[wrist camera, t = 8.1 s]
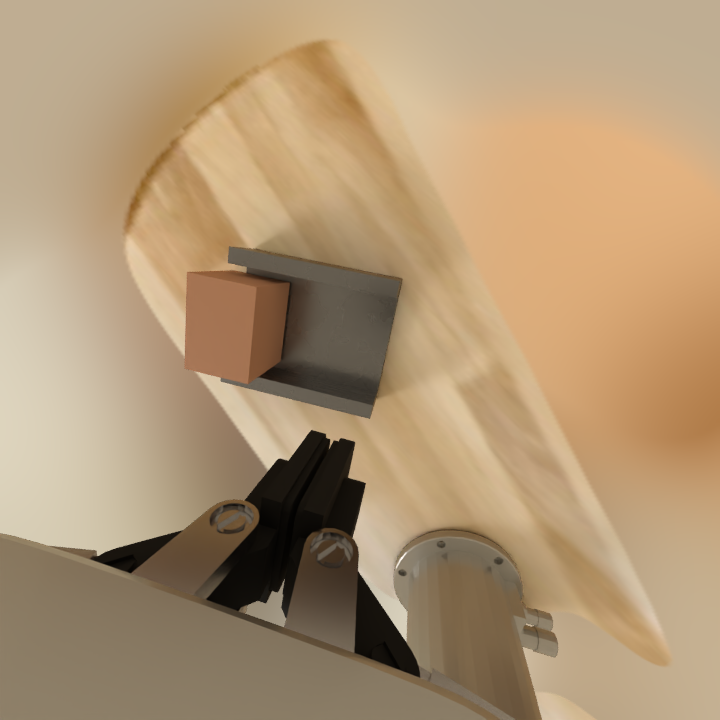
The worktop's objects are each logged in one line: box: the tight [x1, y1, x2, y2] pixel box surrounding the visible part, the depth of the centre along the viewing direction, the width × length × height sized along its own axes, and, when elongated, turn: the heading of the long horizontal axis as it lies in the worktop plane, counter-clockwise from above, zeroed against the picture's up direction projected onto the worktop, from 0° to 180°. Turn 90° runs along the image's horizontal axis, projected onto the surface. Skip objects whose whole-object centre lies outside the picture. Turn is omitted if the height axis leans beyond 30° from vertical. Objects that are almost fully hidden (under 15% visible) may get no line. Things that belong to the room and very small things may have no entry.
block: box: [185, 270, 290, 384], centre depth 26 cm, size 5×7×6 cm
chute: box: [221, 247, 402, 419], centre depth 28 cm, size 13×11×4 cm
